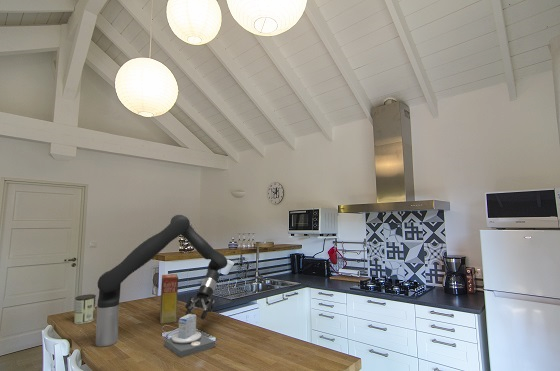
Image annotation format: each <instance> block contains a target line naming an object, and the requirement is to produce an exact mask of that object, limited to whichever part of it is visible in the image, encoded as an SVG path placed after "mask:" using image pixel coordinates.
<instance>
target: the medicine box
mask: <svg viewBox="0 0 560 371" xmlns="http://www.w3.org/2000/svg"><path fill="white" fill-rule="evenodd" d="M196 331H197V315H196V314H192V313H191V314H188V315H186V316H185V315H184V316H182V317H180V318H179V319H178V333H179V334H178V338H182V339H187V338H188V337H190V336H192V335H193V334H195V333H196Z"/></svg>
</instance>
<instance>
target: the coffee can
mask: <svg viewBox="0 0 560 371" xmlns="http://www.w3.org/2000/svg"><path fill="white" fill-rule="evenodd" d="M96 297H97V295H96V294H91V293H90V294H82V295H78V296H75V303H74V321H73V323H74V324H75V325H76V324H77V325H83V324H87V323H92V322H94V321H95V314H96V313H95V312H96Z"/></svg>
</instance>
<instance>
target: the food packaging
mask: <svg viewBox="0 0 560 371" xmlns="http://www.w3.org/2000/svg"><path fill="white" fill-rule="evenodd" d="M160 285H161V286H160V287H161V288H160V305H159V306H160V307H159V322H160V325H161V324H162V325H163V324H170V323H177V321H178V320H177V319H178V317H177V316H178V293H179V291H178V289H179V276H178V274H173V273H172V274H162V275H161V283H160Z"/></svg>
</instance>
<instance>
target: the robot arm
mask: <svg viewBox="0 0 560 371" xmlns="http://www.w3.org/2000/svg"><path fill="white" fill-rule="evenodd" d="M180 236H182V237H184V238H185V239H186V241H188V242H189V244H190V245H191V246H192V247H193V248H194V249H195V250H196V252H198V253H199V255H200V256H201V257H202V258H203V259H205V260H210V261H209V263H208V266H207V272H206V274H205V277H204V279H203V280H202V282H201V284H200V287H199V288H198V290H197V292H196V296H195V297H192V296H190V297H189V298H188V300H187V303H186V304H185V306H184V308H185V309H186V312H185V313H184V316H186V315H188V314H192V311H193V310H195V309H196V308H201V309H203V311H202V313H201V315H200V319H201V320H202V321H204V319H206V317H207V314H208V313H212V311H213V309H214V306H215V303H216V301H215V299H214V297H213V294H214V292H215V289H216V286H217V284H218V281H219V279H220V272H219V270H222V269H225V268H226V267H227V266H228V259H227V258H226V256H225V255H224V254H222V253H221V252H219V251H218V250H216V249H214V248H213V247H212V246H211V244H209V243H208V241H207V240H205V239H204V238H203V237H202V236H201V235H200V234H199V233H197V231H196V230H195V229H194V228H193V227H192V226H191V221H190V219H189V218H188V217H187V216H185V215H183V214H175V215H173V216H172V218H171V219H170V223H169V224H168V225H167V226H166V227H165V228H164V229H162V230H161V231H160V232H158V233H156V234H154V235H152V236H150V237H148V238H147V239H146V240H144V241H143V242H142V243H140V244H138V246H137V247H135V248H134V249H133V250H132V251H131V252H130V253H129V254H128V255H126V257H125V258H124V259H123V260H122V261H121V262H120V263H119V264H117V265H116V266H115V267H113V268H112V269H110V270H108V271H106V272H104V273H103V274H101V275H100V276H99V278H98V281H97V289H98V291H99V292H98V299H97V305H96V308H97V309H96V323H95V324H96V326H95V328H96V329H95V347H100V348H101V347H107V346H108V347H109V346H112V345H114V344H116V343H118V340H119V339H118V336H119V335H118V334H119V333H118V332H119V314H120V313H119V312H120V300H121V299H120V298H121V286H122V283H123V282H124V281H125V280H126V279H127V278H128V277H129V276H130V275H131V274H134V272H136V271H137V270H138V269H139V270H140V268H141V267H143V266H145V265H146V264H147V263H148V262H150V261H151V260H152V259H154V257H156V256H157V255H158V254H159V253H160V252H161V251H162V250H164V248H166V247H167V246H168V245H169V244H170V243H171V242H173V241H174V240H175V239H177V238H178V237H180ZM212 297H213V298H212Z"/></svg>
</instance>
